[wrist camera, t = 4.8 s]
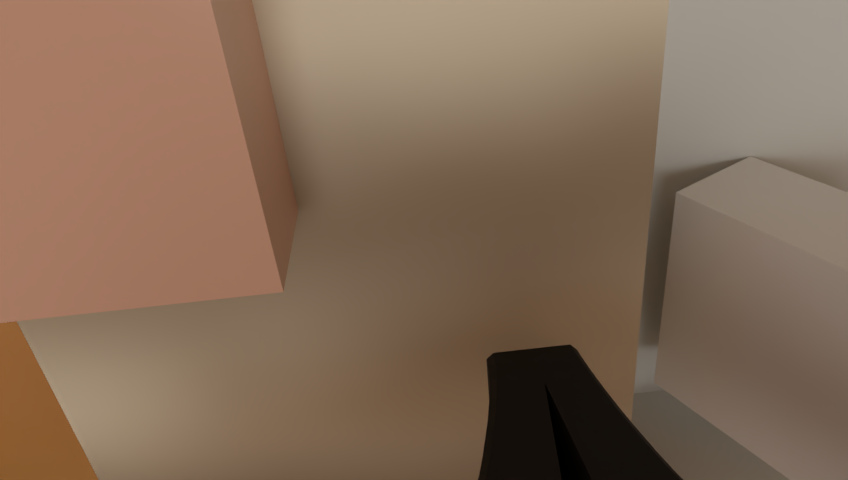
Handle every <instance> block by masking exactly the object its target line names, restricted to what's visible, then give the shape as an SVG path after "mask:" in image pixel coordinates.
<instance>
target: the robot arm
mask: <svg viewBox="0 0 848 480" xmlns="http://www.w3.org/2000/svg"><path fill="white" fill-rule="evenodd" d="M487 375H488V390H489V410H488V422H487V429H486V436H485V443H484V450H483V457H482V463H481V468H480V473H479V477H478V480H683V479H682V478H681V477H680V476H679V475H678V474H677V473H676V472H675V471H674V470H673V469H672V467H671V466H670V465H669V464H668V463H667V462H666V461H665V460H664V459H663V458H662V457H661V456H660V454H659V453H658V452H657V451H656V450H655V449H654V448H653V447H652V445H651V444H650V443H649V442H648V441H647V440H646V438H645V437H644V436H643V435H642V434H641V433H640V432H639V430H638V429H637V428H636V427H635V426H634V425H633V423H632V422H631V421H630V420H629V419H628V417H627V416H626V415H625V414H624V413H623V411H622V410H621V409H620V408H619V406H618V405H617V404H616V403H615V401H614V400H613V399H612V398H611V396H610V395H609V394H608V392H607V391H606V390H605V389H604V387H603V386H602V385H601V383H600V382H599V381H598V379H597V378H596V377H595V375H594V374H593V372H592V371H591V370H590V368H589V367H588V365H587V364H586V362H585V361H584V360H583V358H582V357H581V355H580V354H579V352H578V350H577V349H576V348H574V347H573V346H572V345H570V344H569V345H560V346H551V347H542V348H533V349H524V350H514V351H505V352H496V353H493V354H492V355H490V356H489V357H488V358H487Z"/></svg>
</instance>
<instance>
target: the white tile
mask: <svg viewBox="0 0 848 480" xmlns="http://www.w3.org/2000/svg"><path fill="white" fill-rule="evenodd" d="M654 383H655V384H657V385H658V386H660V387H661V388H662V389H664V390H665V391H667V392H668V393H669V394H671V395H672V396H673V397H675V398H676V399H678V400H679V401H680V402H682V403H683V404H685V405H686V406H687V407H689V408H690V409H692V410H693V411H694V412H696V413H697V414H699V415H700V416H701V417H703V418H704V419H706V420H707V421H708V422H710V423H711V424H713V425H714V426H715V427H717V428H718V429H720V430H721V431H722V432H724V433H725V434H727V435H728V436H729V437H731V438H732V439H734V440H735V441H736V442H738V443H739V444H741V445H742V446H743V447H745V448H746V449H748V450H749V451H750V452H752V453H753V454H754V455H756V456H757V457H759V458H760V459H761V460H763V461H764V462H766V463H767V464H768V465H770V466H771V467H773V468H774V469H775V470H777V471H778V472H780V473H781V474H782V475H784V476H785V477H787V478H788V479H789V480H848V193H847V192H845V191H842V190H839V189H837V188H834V187H831V186H829V185H826V184H823V183H821V182H818V181H815V180H813V179H810V178H807V177H805V176H802V175H799V174H797V173H794V172H791V171H789V170H786V169H783V168H781V167H778V166H775V165H773V164H770V163H767V162H765V161H762V160H759V159H757V158H754V157H751V156H750V157H748V158H746V159H744V160H742V161H740V162H738V163H735V164H733V165H731V166H729V167H727V168H725V169H723V170H721V171H719V172H717V173H715V174H713V175H711V176H709V177H707V178H704V179H702V180H700V181H698V182H696V183H694V184H692V185H690V186H688V187H686V188H684V189H682V190H680V191H678V192H676V198H675V206H674V215H673V223H672V232H671V240H670V249H669V257H668V266H667V274H666V283H665V291H664V300H663V308H662V317H661V325H660V334H659V342H658V351H657V359H656V368H655V376H654Z"/></svg>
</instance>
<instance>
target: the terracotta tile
mask: <svg viewBox="0 0 848 480" xmlns="http://www.w3.org/2000/svg"><path fill="white" fill-rule="evenodd" d="M297 215H298V207H297V203H296V198H295V194H294V189H293V184H292V180H291V175H290V171H289V166H288V162H287V157H286V152H285V148H284V143H283V139H282V134H281V130H280V125H279V121H278V116H277V111H276V107H275V102H274V98H273V93H272V89H271V84H270V80H269V75H268V70H267V66H266V61H265V57H264V52H263V48H262V43H261V39H260V34H259V29H258V25H257V20H256V16H255V11H254V7H253V2H252V0H0V323H5V322H14V321H24V320H33V319H42V318H51V317H60V316H69V315H78V314H88V313H97V312H106V311H115V310H124V309H133V308H143V307H152V306H161V305H170V304H179V303H188V302H197V301H207V300H216V299H225V298H234V297H243V296H252V295H262V294H271V293H280V292H284V286H285V281H286V275H287V270H288V264H289V259H290V253H291V248H292V242H293V237H294V231H295V226H296V220H297Z"/></svg>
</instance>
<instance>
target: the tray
mask: <svg viewBox="0 0 848 480" xmlns="http://www.w3.org/2000/svg"><path fill="white" fill-rule="evenodd" d="M750 156H751V157H754V158H757V159H759V160H762V161H765V162H767V163H770V164H773V165H775V166H778V167H781V168H783V169H786V170H789V171H791V172H794V173H797V174H799V175H802V176H805V177H807V178H810V179H813V180H815V181H818V182H821V183H823V184H826V185H829V186H831V187H834V188H837V189H839V190H842V191H845V192H847V193H848V0H669V8H668V19H667V30H666V41H665V52H664V63H663V75H662V86H661V97H660V108H659V119H658V130H657V141H656V152H655V163H654V174H653V185H652V196H651V208H650V219H649V230H648V241H647V252H646V263H645V274H644V285H643V296H642V307H641V318H640V330H639V341H638V352H637V363H636V374H635V385H634V396H633V407H632V418H631V422H632V423H633V425H634V426H635V427H636V428H637V429H638V430H639V432H640V433H641V434H642V435H643V436H644V437H645V438H646V440H647V441H648V442H649V443H650V444H651V445H652V447H653V448H654V449H655V450H656V451H657V452H658V453H659V454H660V456H661V457H662V458H663V459H664V460H665V461H666V462H667V463H668V464H669V465H670V466H671V467H672V469H673V470H674V471H675V472H676V473H677V474H678V475H679V476H680V477H681V478H682V479H683V480H789V479H788V478H787V477H785V476H784V475H782V474H781V473H780V472H778V471H777V470H775V469H774V468H773V467H771V466H770V465H768V464H767V463H766V462H764V461H763V460H761V459H760V458H759V457H757V456H756V455H754V454H753V453H752V452H750V451H749V450H748V449H746V448H745V447H743V446H742V445H741V444H739V443H738V442H736V441H735V440H734V439H732V438H731V437H729V436H728V435H727V434H725V433H724V432H722V431H721V430H720V429H718V428H717V427H715V426H714V425H713V424H711V423H710V422H708V421H707V420H706V419H704V418H703V417H701V416H700V415H699V414H697V413H696V412H694V411H693V410H692V409H690V408H689V407H687V406H686V405H685V404H683V403H682V402H680V401H679V400H678V399H676V398H675V397H673V396H672V395H671V394H669V393H668V392H667V391H665V390H664V389H662V388H661V387H660V386H658V385H657V384H655V383H654V376H655V368H656V359H657V351H658V342H659V334H660V325H661V317H662V308H663V300H664V291H665V283H666V274H667V266H668V257H669V249H670V240H671V232H672V223H673V215H674V206H675V198H676V192H678V191H680V190H682V189H684V188H686V187H688V186H690V185H692V184H694V183H696V182H698V181H700V180H702V179H704V178H707V177H709V176H711V175H713V174H715V173H717V172H719V171H721V170H723V169H725V168H727V167H729V166H731V165H733V164H735V163H738V162H740V161H742V160H744V159H746V158H748V157H750Z"/></svg>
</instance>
